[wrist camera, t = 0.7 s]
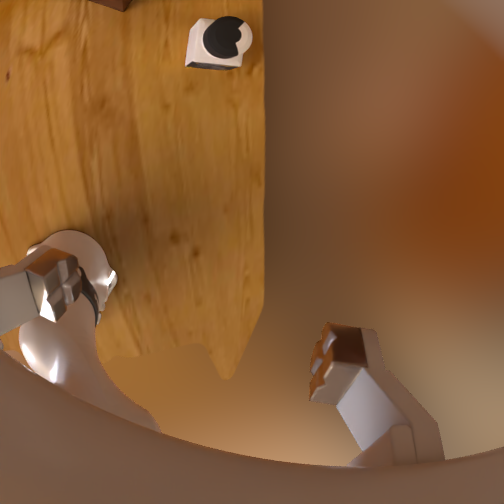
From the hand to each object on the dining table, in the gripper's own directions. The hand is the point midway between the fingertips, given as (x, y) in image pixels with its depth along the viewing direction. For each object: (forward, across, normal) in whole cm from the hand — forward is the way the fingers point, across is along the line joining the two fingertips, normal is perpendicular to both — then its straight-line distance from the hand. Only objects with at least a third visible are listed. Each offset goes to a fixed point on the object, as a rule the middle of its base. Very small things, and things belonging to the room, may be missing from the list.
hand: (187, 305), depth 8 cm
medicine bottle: (+41, -14, +14) cm, 46 cm away
